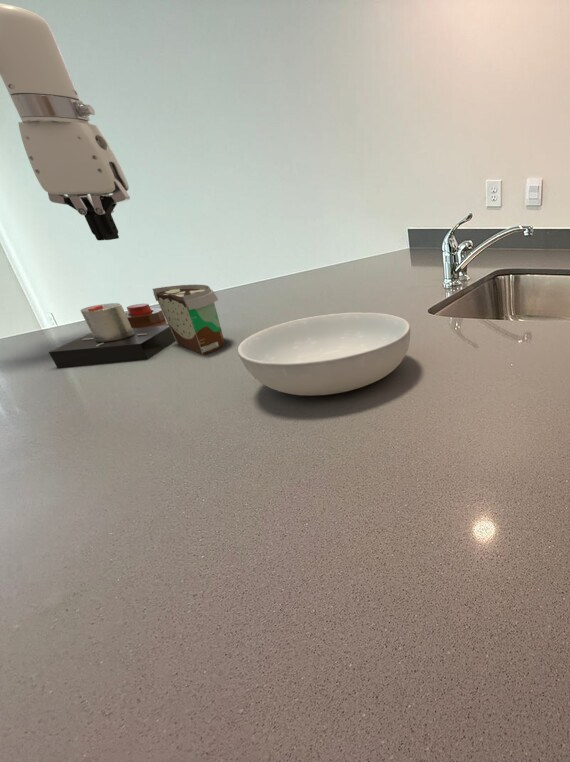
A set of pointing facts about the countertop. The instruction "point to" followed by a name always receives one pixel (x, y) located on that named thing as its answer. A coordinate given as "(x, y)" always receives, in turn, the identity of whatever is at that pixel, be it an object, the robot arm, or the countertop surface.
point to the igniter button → (139, 309)
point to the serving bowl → (326, 352)
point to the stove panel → (113, 348)
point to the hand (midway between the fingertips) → (108, 239)
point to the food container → (191, 316)
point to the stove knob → (107, 322)
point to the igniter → (148, 319)
